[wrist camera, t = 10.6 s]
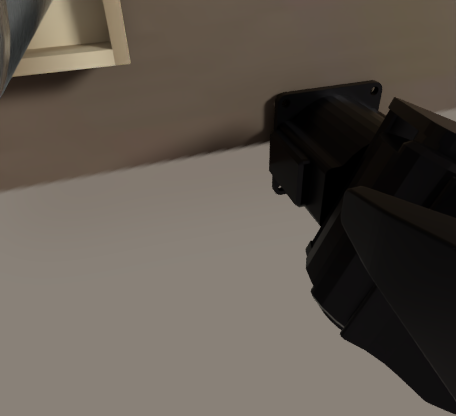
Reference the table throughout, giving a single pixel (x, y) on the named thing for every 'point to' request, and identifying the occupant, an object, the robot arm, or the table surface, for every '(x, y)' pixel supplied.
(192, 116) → the table surface
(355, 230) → the robot arm
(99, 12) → the square wooden tray
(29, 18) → the canister
